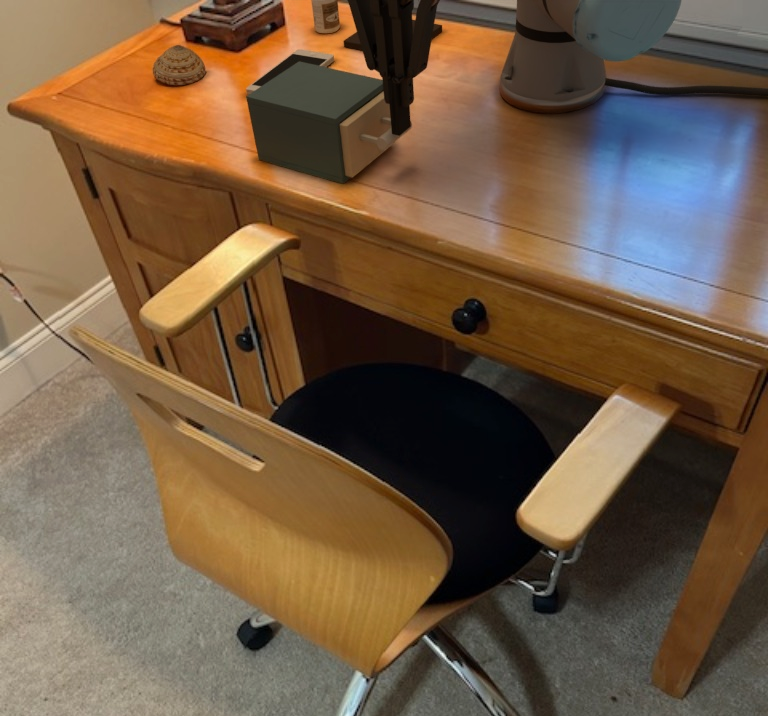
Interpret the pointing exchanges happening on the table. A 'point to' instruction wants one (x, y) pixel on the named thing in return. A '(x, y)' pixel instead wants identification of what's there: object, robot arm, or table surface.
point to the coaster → (355, 44)
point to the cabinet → (307, 117)
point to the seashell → (178, 66)
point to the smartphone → (292, 59)
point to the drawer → (366, 134)
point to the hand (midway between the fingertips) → (401, 130)
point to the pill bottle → (326, 15)
